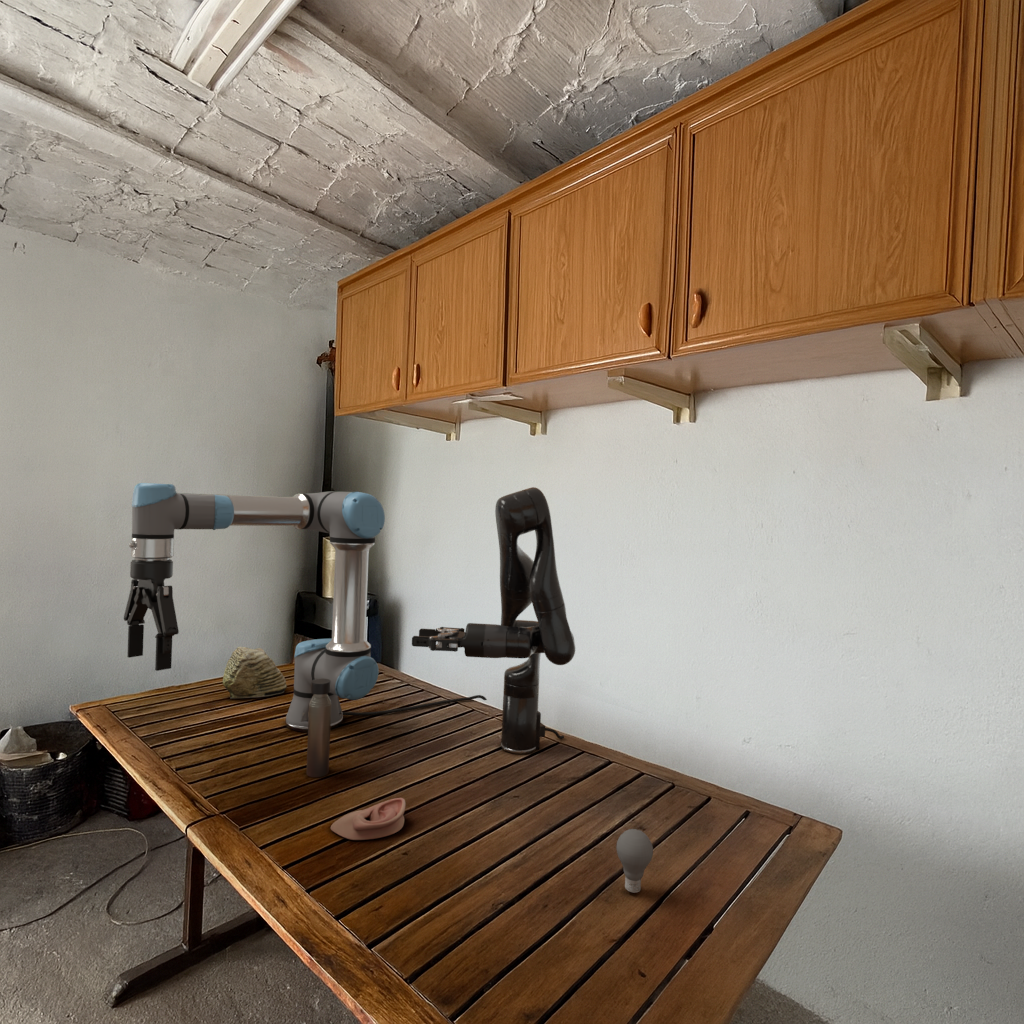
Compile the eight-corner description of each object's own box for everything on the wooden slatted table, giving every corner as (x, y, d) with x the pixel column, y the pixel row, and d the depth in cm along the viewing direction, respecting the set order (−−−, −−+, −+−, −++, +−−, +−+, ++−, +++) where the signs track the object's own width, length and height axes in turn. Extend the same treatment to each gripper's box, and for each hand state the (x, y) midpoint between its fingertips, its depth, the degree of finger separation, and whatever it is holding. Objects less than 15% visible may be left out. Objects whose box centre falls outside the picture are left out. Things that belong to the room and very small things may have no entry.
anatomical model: (323, 814, 118) (350, 787, 130) (322, 835, 118) (350, 806, 130) (389, 824, 116) (412, 796, 127) (389, 846, 116) (411, 816, 127)
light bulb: (610, 879, 108) (613, 822, 108) (644, 879, 109) (647, 822, 109) (619, 902, 102) (622, 840, 102) (655, 901, 103) (658, 840, 103)
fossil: (218, 695, 195) (220, 647, 195) (278, 685, 208) (279, 640, 207) (228, 703, 189) (230, 653, 188) (289, 692, 201) (290, 645, 201)
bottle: (302, 776, 143) (306, 684, 143) (312, 767, 148) (315, 679, 148) (323, 778, 142) (326, 686, 142) (332, 769, 147) (335, 680, 147)
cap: (307, 693, 143) (308, 682, 143) (316, 688, 147) (316, 677, 147) (325, 695, 142) (325, 684, 142) (333, 690, 147) (333, 679, 147)
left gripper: (108, 554, 134) (104, 654, 134) (159, 565, 118) (155, 678, 119) (146, 552, 140) (143, 648, 140) (199, 563, 124) (195, 671, 124)
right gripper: (489, 618, 151) (421, 615, 151) (485, 630, 136) (410, 626, 137) (488, 650, 151) (420, 646, 151) (483, 665, 136) (408, 661, 137)
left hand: (148, 662), depth 129 cm, fingers open, 13 cm apart
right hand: (415, 637), depth 144 cm, fingers open, 8 cm apart
